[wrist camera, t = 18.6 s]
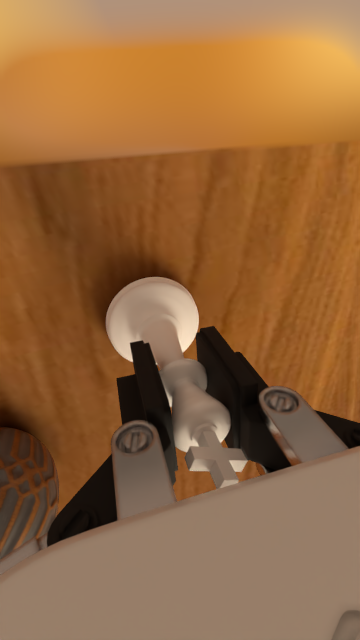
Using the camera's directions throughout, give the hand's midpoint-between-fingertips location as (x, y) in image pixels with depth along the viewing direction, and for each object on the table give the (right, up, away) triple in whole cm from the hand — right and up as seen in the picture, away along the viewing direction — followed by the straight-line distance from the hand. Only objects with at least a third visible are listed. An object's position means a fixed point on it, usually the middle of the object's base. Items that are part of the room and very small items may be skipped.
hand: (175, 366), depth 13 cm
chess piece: (-1, +2, +4) cm, 5 cm away
